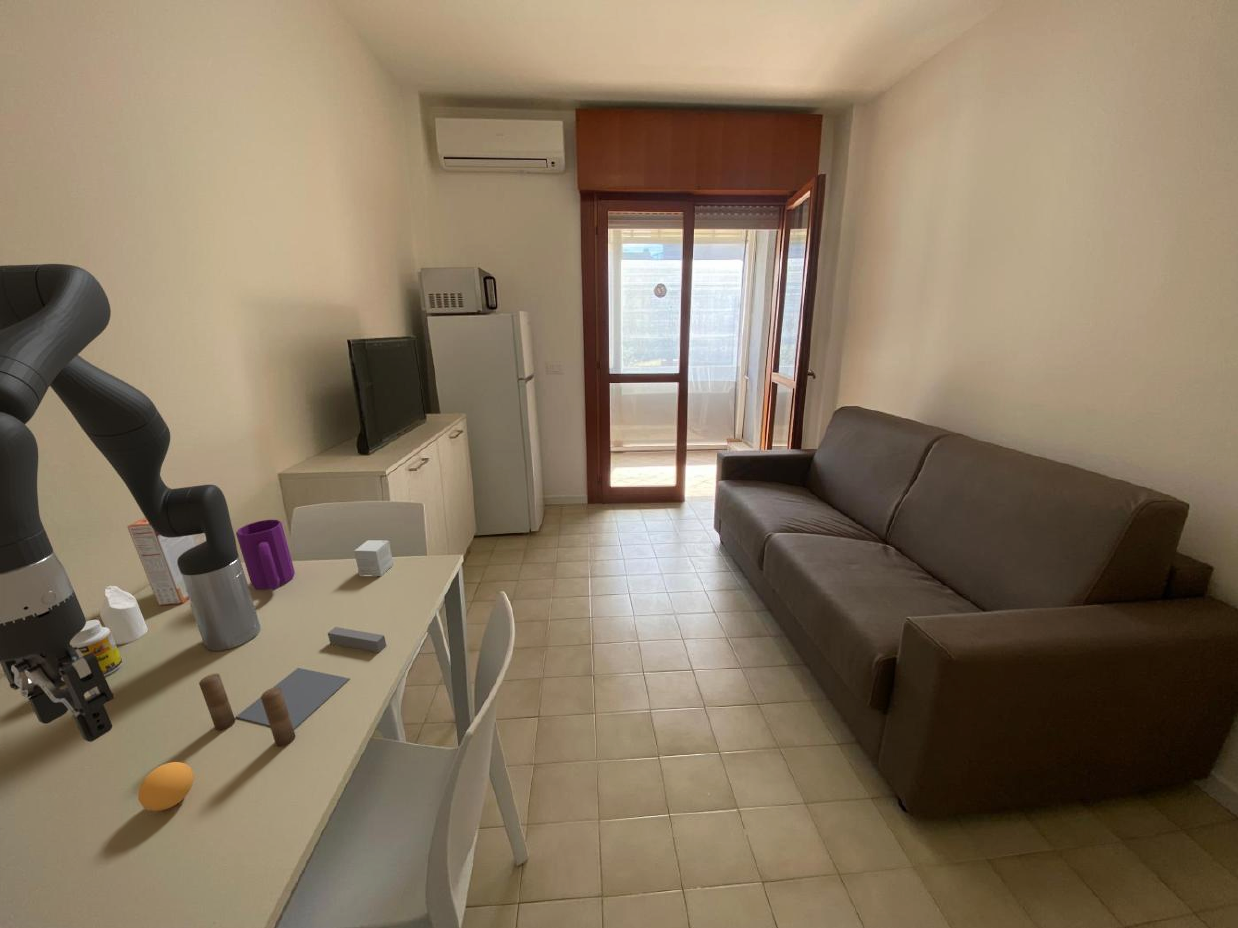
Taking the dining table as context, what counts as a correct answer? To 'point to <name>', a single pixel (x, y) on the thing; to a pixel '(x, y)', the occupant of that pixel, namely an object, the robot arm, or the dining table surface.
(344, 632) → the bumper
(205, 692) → the left post
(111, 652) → the supplement bottle
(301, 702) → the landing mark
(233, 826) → the dining table surface
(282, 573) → the mug
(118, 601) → the white tapered piece
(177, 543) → the cracker box
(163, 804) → the ball
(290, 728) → the right post
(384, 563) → the product box
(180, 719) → the dining table surface
